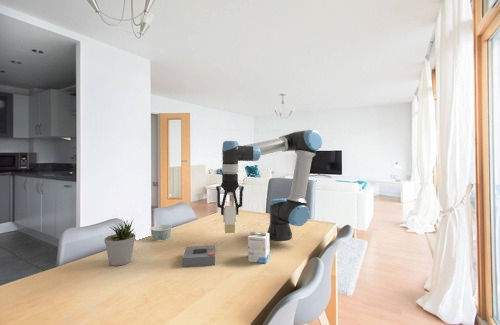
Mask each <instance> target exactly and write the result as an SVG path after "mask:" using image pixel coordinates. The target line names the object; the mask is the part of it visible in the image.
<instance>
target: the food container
mask: <svg viewBox="0 0 500 325" xmlns="http://www.w3.org/2000/svg"><path fill="white" fill-rule="evenodd" d="M172 228H173V226H172V225H169V224H158V225H154V226H152V227H151V228H150V231H151V234H152V240H153V241H155V240H164V241H167V240H170V237H171V232H172ZM166 239H167V240H166Z"/></svg>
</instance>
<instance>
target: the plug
mask: <svg viewBox="0 0 500 325" xmlns="http://www.w3.org/2000/svg"><path fill="white" fill-rule="evenodd" d="M224 208H225V222H224V233H225V234H235V230H236V227H235V226H236V222H235V208H236V206H235V205H224Z"/></svg>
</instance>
